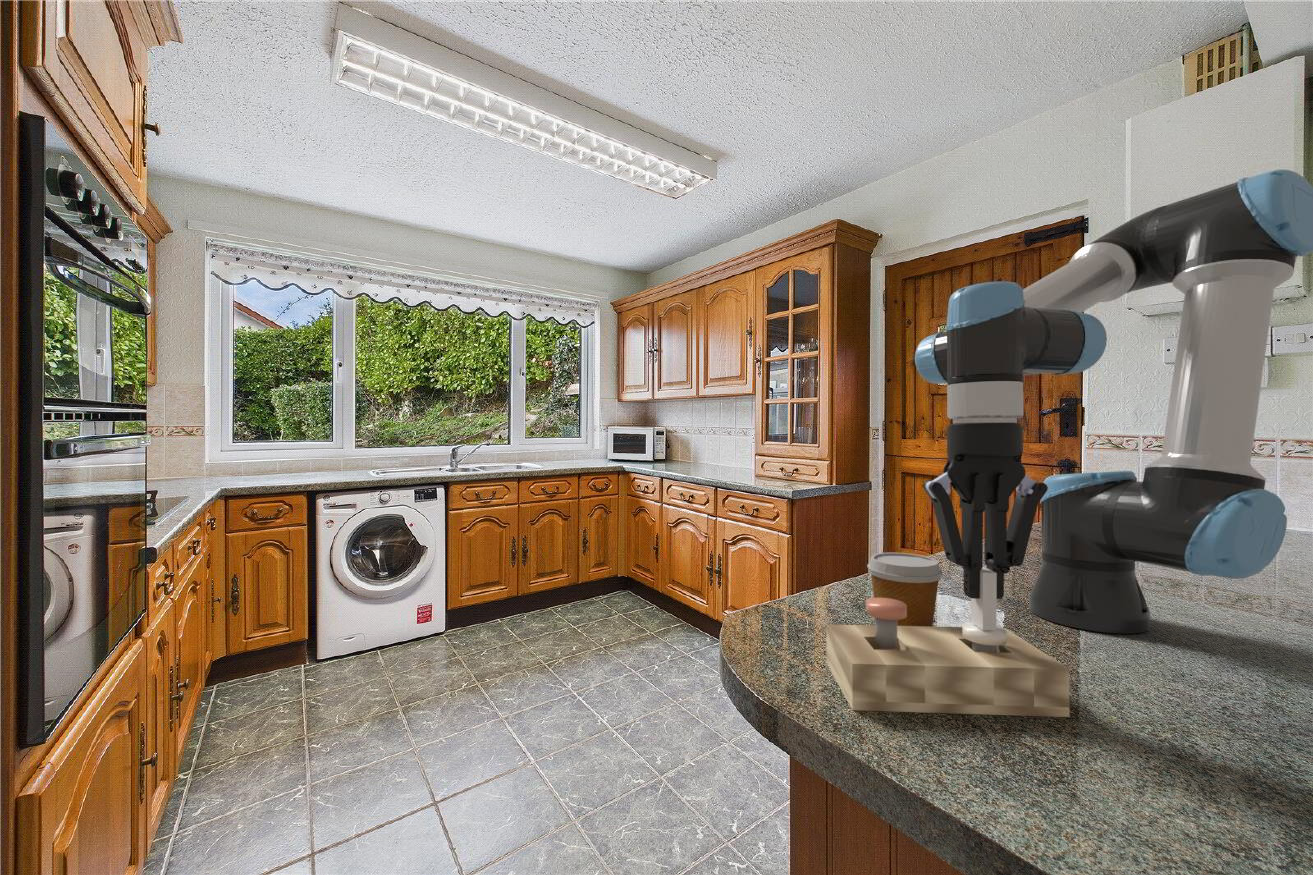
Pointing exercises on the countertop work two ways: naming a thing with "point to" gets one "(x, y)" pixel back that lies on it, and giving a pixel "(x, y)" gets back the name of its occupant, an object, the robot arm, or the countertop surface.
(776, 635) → the countertop surface
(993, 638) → the white mushroom knob
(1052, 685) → the block
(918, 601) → the disposable coffee cup
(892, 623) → the pink round-capped knob part
